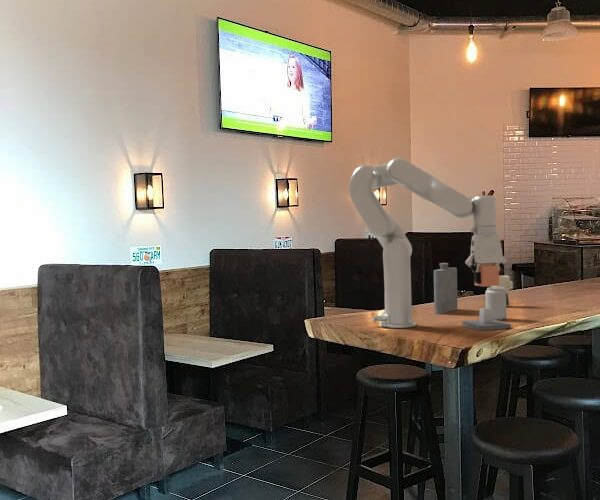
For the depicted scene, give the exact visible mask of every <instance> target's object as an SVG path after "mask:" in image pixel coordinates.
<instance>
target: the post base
mask: <svg viewBox="0 0 600 500" xmlns="http://www.w3.org/2000/svg"><path fill="white" fill-rule="evenodd" d="M478 310H479V313H478V314H479V317H478V319H474V320H462V321H461V325H462V326H463V327H466V328H469V329H472V330H475V331H479V332H480V331H481V332H482V331H495V330H494V329H497V330H506V328H511V329H512V324H511V323H508V322H504V321H502V320H494V319H492V309H491V308H486V307H479V309H478Z"/></svg>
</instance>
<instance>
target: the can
mask: <svg viewBox="0 0 600 500" xmlns="http://www.w3.org/2000/svg"><path fill="white" fill-rule="evenodd" d="M506 293H507V291H505V290H504V288H503V287H490V286H487V288H486V290H485V302H484V303H485V308H491V309H492V319H494V320H497V321H504V320H505V319H507V305H506ZM503 319H504V320H503Z"/></svg>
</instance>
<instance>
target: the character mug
mask: <svg viewBox="0 0 600 500" xmlns="http://www.w3.org/2000/svg"><path fill="white" fill-rule="evenodd" d="M513 285H514V282H513V280H510V276H509V275H499V286H489V287H503V288H504V290H505V291H506V306H509V305H510V302H509V301H510V300H509V295H508V293H507V292H509V291H510V289H511V290H512V289H513V288H514V287H513Z"/></svg>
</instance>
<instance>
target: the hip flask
mask: <svg viewBox="0 0 600 500" xmlns="http://www.w3.org/2000/svg"><path fill="white" fill-rule="evenodd" d="M438 266H439V269H438V268H437V269H434V270H433V291H434V292H433V296H434V297H433V301H434V302H433V303H434V315H443V314H445V313H449V312H454V311H458V268H457V267H449V262H442V263H441V262H439V265H438Z"/></svg>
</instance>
